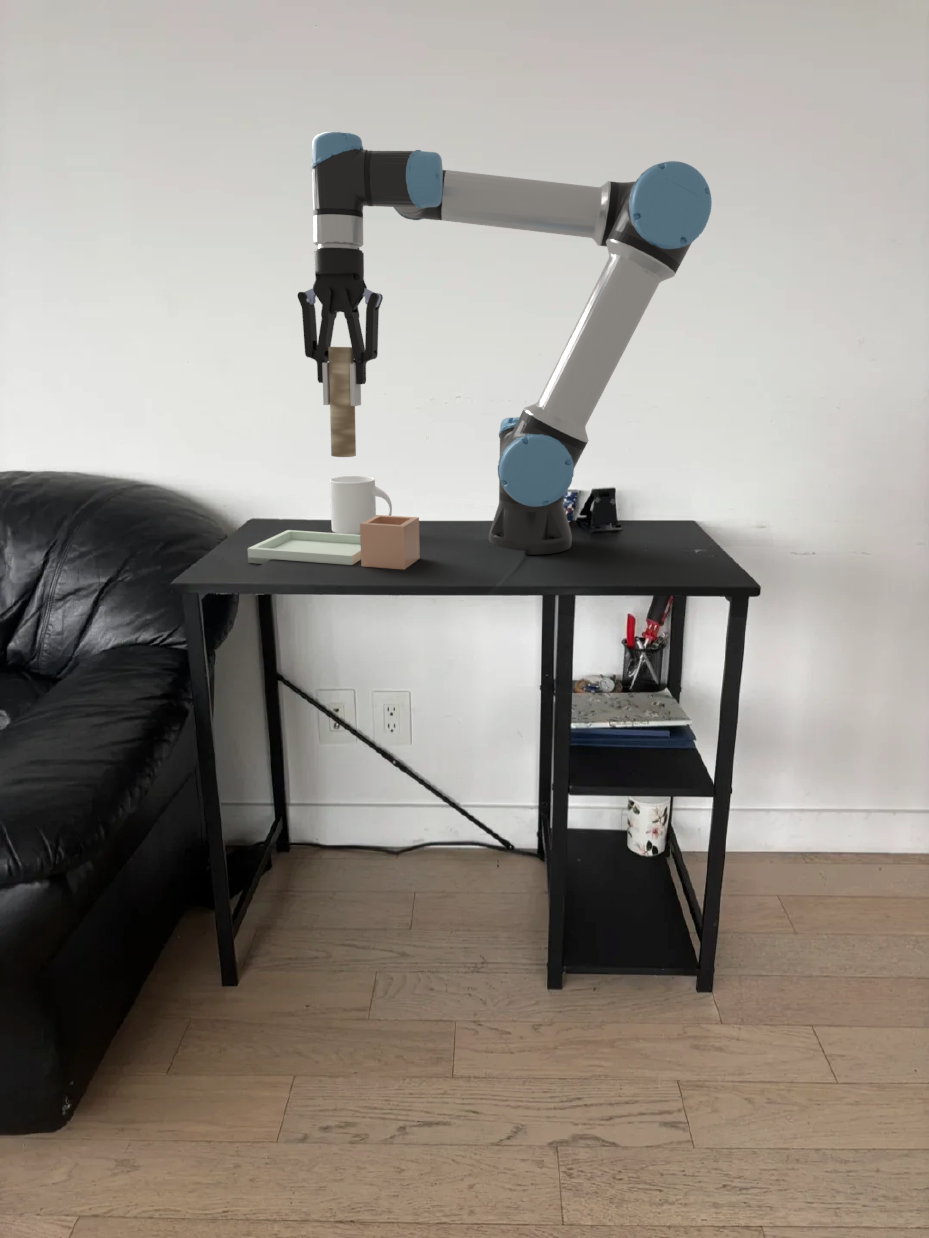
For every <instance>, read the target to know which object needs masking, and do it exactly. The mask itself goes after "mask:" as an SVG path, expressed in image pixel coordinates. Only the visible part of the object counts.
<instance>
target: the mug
mask: <svg viewBox="0 0 929 1238" xmlns="http://www.w3.org/2000/svg"><path fill="white" fill-rule="evenodd" d="M376 497H377V498H378V497H379V498H382V499H383V500H385V501H386V503H387V505H388V507H389V513H388V515H387V516H392V512H393V505H392V501H391V499H390V497H389V496H388V494H387V493H386V492H385V491H384V490H382V489H381V488H379V487H377V486H376V479H375V478H374V477H373V476H366V475H343V476H342V475H341V476H336V477H332V478H330V479H329V499H330V500H329V501H330V518H331V519H330V520H331V531H332V533H341V534H356V535H360V523H362V522H364V521H366V520H368V519H370V518H372V517H374V516H376V515H377V507H376V506H377V505H376V504H377V503H376Z"/></svg>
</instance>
